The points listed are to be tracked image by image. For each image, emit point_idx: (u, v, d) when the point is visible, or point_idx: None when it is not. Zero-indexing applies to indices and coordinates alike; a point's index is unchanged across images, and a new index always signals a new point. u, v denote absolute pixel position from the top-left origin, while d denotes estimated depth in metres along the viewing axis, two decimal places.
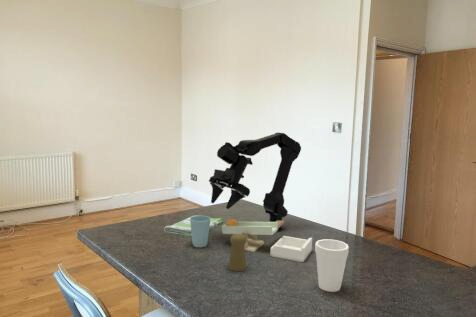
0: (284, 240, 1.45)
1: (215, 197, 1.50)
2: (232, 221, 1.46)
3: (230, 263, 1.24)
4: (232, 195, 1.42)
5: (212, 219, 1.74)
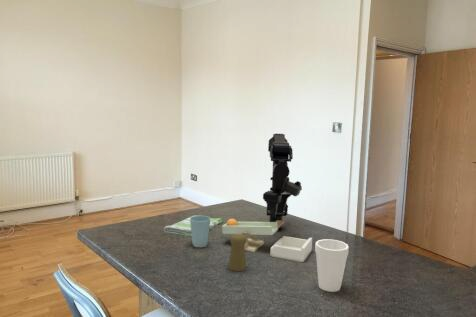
0: (284, 240, 1.45)
1: None
2: (232, 221, 1.46)
3: (230, 263, 1.24)
4: (287, 198, 1.54)
5: (212, 219, 1.74)
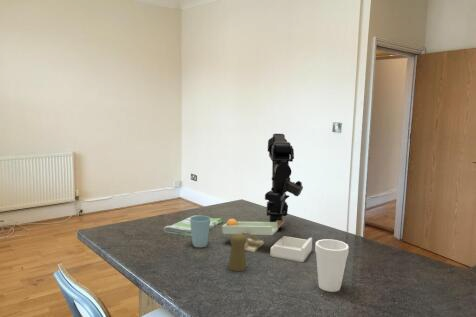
0: (284, 240, 1.45)
1: None
2: (232, 221, 1.46)
3: (230, 263, 1.24)
4: (284, 200, 1.50)
5: (212, 219, 1.73)
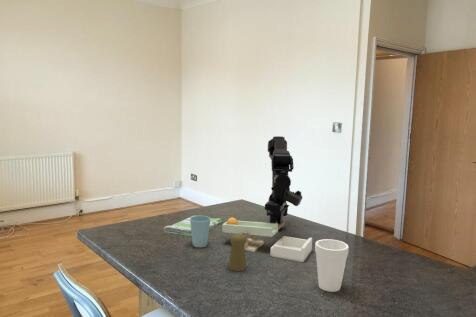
0: (284, 240, 1.45)
1: None
2: (232, 220, 1.46)
3: (230, 263, 1.24)
4: (284, 210, 1.51)
5: (212, 219, 1.73)
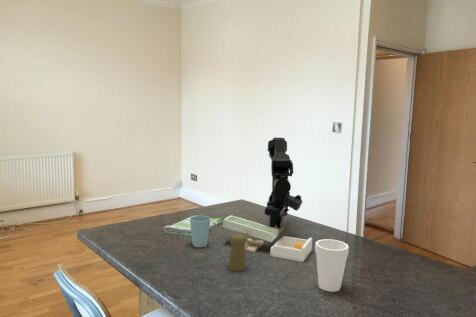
0: (284, 240, 1.45)
1: None
2: None
3: (230, 263, 1.24)
4: (284, 214, 1.51)
5: (212, 219, 1.73)
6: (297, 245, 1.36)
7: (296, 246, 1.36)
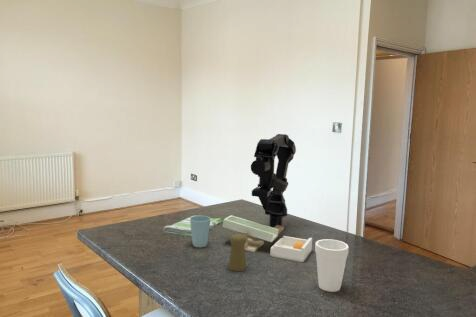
0: (284, 240, 1.45)
1: None
2: None
3: (230, 263, 1.24)
4: (270, 197, 1.53)
5: (212, 219, 1.73)
6: (296, 245, 1.36)
7: (295, 246, 1.36)
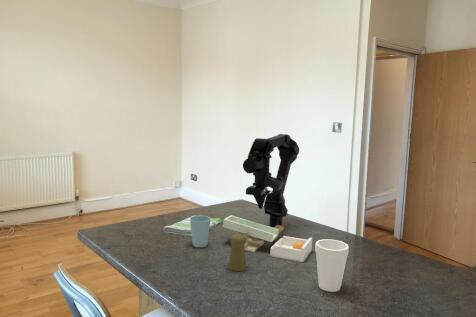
0: (284, 240, 1.45)
1: None
2: None
3: (230, 263, 1.24)
4: (265, 195, 1.54)
5: (211, 219, 1.73)
6: (295, 245, 1.36)
7: (294, 246, 1.36)
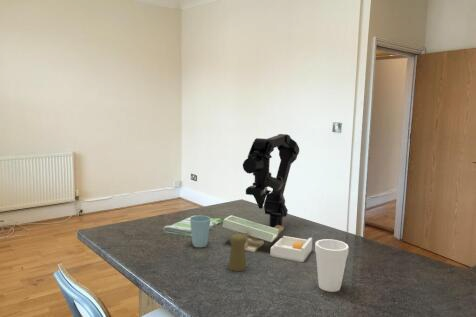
0: (284, 240, 1.45)
1: None
2: None
3: (230, 263, 1.24)
4: (265, 195, 1.54)
5: (211, 219, 1.73)
6: (294, 245, 1.36)
7: (294, 246, 1.36)
